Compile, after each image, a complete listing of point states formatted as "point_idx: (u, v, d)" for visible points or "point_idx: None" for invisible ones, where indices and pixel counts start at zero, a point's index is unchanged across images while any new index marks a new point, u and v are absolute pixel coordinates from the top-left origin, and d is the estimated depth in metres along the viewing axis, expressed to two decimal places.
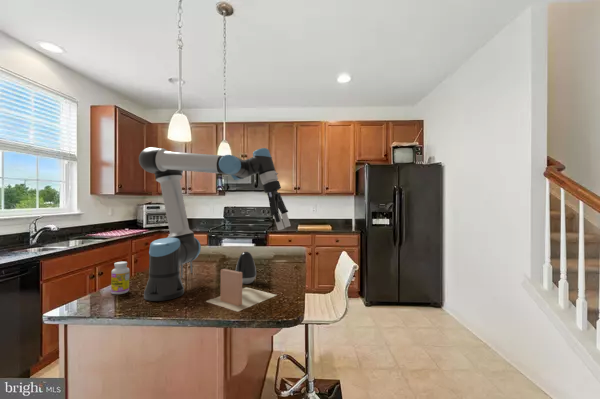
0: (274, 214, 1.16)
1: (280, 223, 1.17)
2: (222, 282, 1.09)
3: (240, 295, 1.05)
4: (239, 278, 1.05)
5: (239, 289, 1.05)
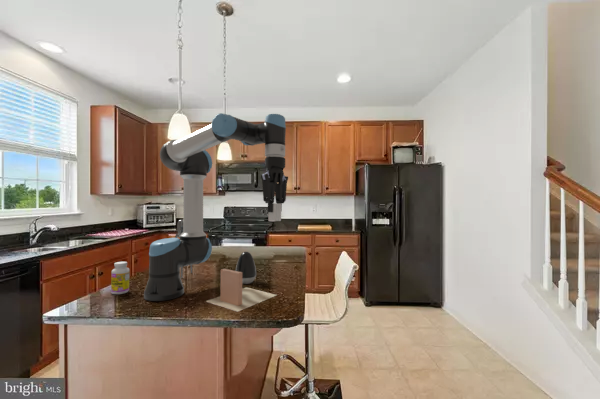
0: (267, 202, 1.01)
1: (272, 214, 1.01)
2: (222, 282, 1.09)
3: (240, 295, 1.05)
4: (239, 278, 1.05)
5: (239, 289, 1.05)
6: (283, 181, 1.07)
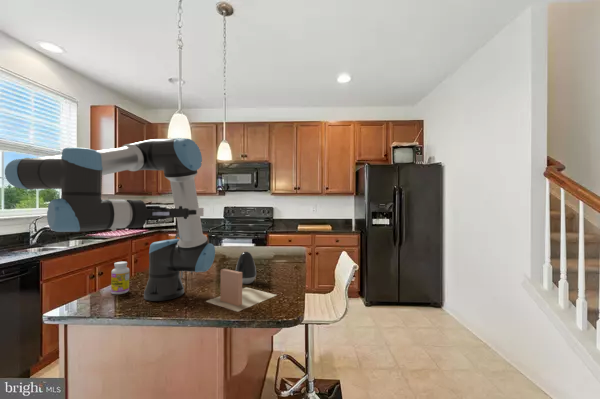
0: None
1: None
2: (222, 282, 1.09)
3: (240, 295, 1.05)
4: (239, 278, 1.05)
5: (239, 289, 1.05)
6: None
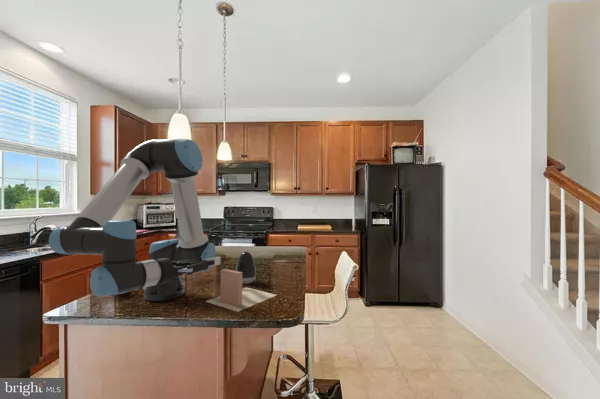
0: None
1: None
2: (222, 282, 1.09)
3: (240, 295, 1.05)
4: (239, 278, 1.05)
5: (239, 289, 1.05)
6: None
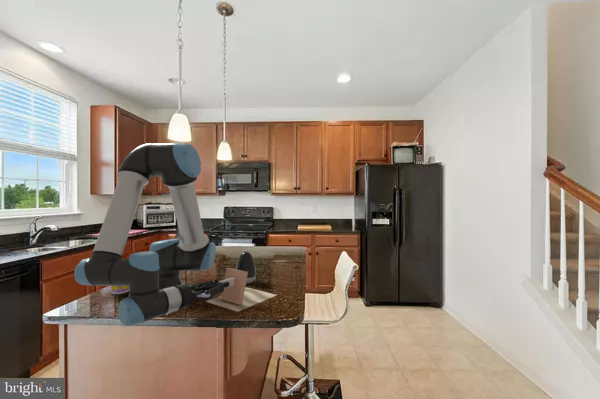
0: None
1: None
2: None
3: (242, 294, 1.06)
4: (244, 276, 1.07)
5: (242, 288, 1.06)
6: None
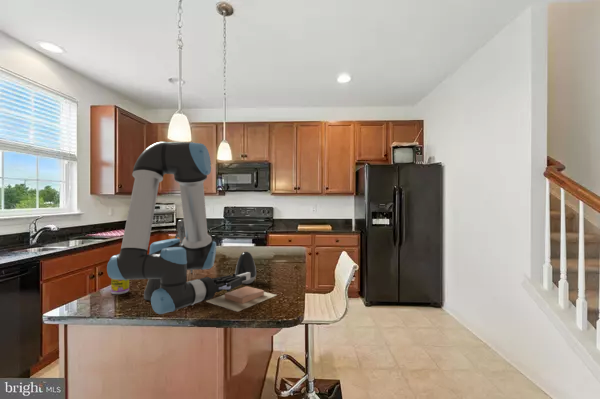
0: None
1: None
2: (240, 289, 1.17)
3: (249, 298, 1.09)
4: (260, 292, 1.14)
5: (253, 295, 1.11)
6: None
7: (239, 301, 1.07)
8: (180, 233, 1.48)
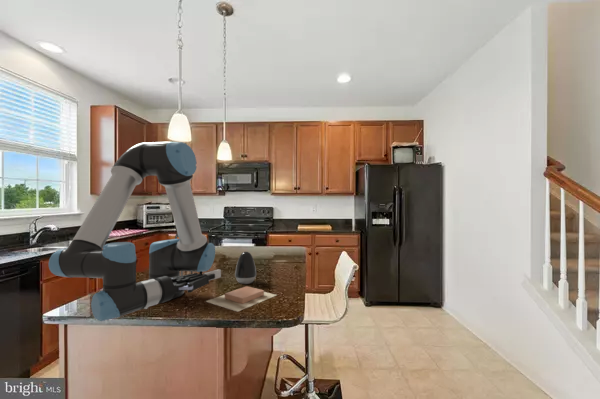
0: None
1: None
2: (240, 289, 1.17)
3: (249, 298, 1.09)
4: (260, 292, 1.14)
5: (253, 295, 1.11)
6: None
7: (239, 301, 1.07)
8: None
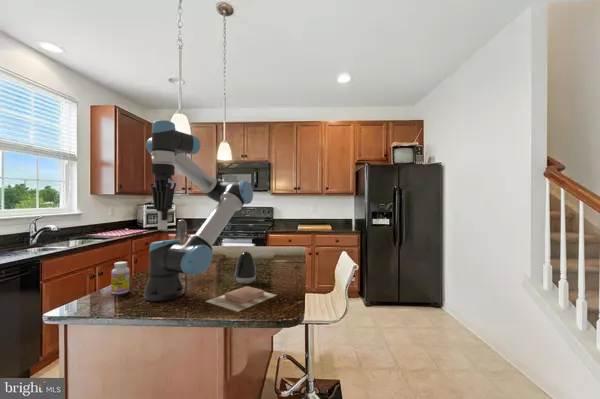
0: None
1: None
2: (240, 289, 1.17)
3: (249, 298, 1.09)
4: (260, 292, 1.14)
5: (253, 295, 1.11)
6: None
7: (239, 301, 1.07)
8: (180, 233, 1.48)
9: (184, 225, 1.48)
